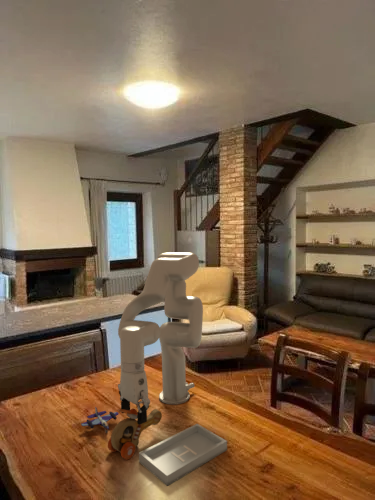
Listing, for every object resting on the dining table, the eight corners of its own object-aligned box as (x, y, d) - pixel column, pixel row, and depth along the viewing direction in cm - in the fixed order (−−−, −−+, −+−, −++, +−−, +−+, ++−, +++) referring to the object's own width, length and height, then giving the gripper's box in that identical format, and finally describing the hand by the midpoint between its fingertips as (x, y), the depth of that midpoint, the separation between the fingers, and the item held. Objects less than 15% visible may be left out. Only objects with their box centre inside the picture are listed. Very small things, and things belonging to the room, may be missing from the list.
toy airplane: (112, 440, 126) (112, 430, 126) (75, 435, 130) (75, 425, 129) (128, 420, 139) (128, 411, 138) (94, 416, 142) (94, 407, 142)
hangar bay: (197, 431, 130) (197, 423, 130) (227, 449, 120) (226, 440, 119) (139, 462, 115) (138, 452, 114) (167, 486, 104) (167, 475, 104)
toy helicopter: (104, 454, 119) (102, 412, 118) (152, 426, 135) (150, 389, 133) (121, 464, 114) (119, 421, 112) (168, 434, 129) (167, 395, 128)
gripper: (158, 369, 117) (159, 423, 118) (128, 356, 130) (129, 404, 131) (137, 376, 112) (138, 432, 113) (108, 361, 125) (110, 411, 126)
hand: (133, 417), depth 122 cm, fingers open, 9 cm apart
